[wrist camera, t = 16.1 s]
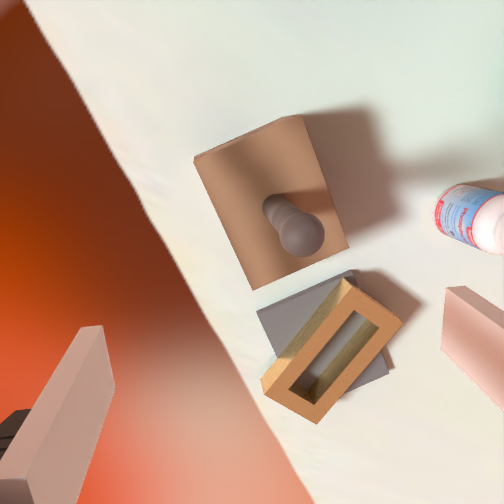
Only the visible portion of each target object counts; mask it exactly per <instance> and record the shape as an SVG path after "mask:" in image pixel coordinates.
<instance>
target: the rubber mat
mask: <svg viewBox="0 0 504 504" xmlns="http://www.w3.org/2000/svg"><path fill="white" fill-rule="evenodd" d="M343 277H344V278H345V279H346V280H348V281H349V282H351V283H352V284H353V285H355V286H356V287H357V284H356V281H355V279H354V276H353V273H352V272H351V271H350V270H348V271H346V272H344V273H342V274H339V275H337V276H335V277H333V278H330V279H328V280H326V281H324V282H321V283H319V284H317V285H315V286H312V287H310V288H308V289H306V290H303V291H301V292H299V293H297V294H294V295H292V296H290V297H288V298H285V299H283V300H281V301H279V302H276V303H274V304H272V305H270V306H267V307H265V308H263V309H261V310H258V311H256V312H257V315H258V317H259V319H260V321H261V324H262V326H263V328H264V330H265V332H266V334H267V336H268V339H269V341H270V343H271V345H272V347H273V349H274V351H275V353H276V356H277V358H278V357H279V356H280V354H281V353H282V352H283V351H284V349H285V348H286V347H287V346H288V345H289V343H290V342H291V341H292V340H293V338H294V337H295V336H296V335H297V333H298V332H299V331H300V330H301V328H302V327H303V326H304V325H305V323H306V322H307V321H308V320H309V318H310V317H311V316H312V315H313V314H314V312H315V311H316V310H317V309H318V307H319V306H320V305H321V304H322V302H323V301H324V300H325V299H326V297H327V296H328V295H329V294H330V292H331V291H332V290H333V289H334V287H335V286H336V285H337V284H338V283H339V281H340V280H341V279H342V278H343ZM366 320H367V319H366V318H365V317H363V316H362V315H360V314H359V313H358V312H356V311H355V310H354V311H353V312H352V313H351V314H350V315H349V317H348V318H347V319H346V320H345V321H344V323H343V324H342V325H341V326H340V327H339V329H338V330H337V331H336V332H335V334H334V335H333V336H332V337H331V338H330V340H329V341H328V342H327V343H326V344H325V346H324V347H323V348H322V349H321V350H320V352H319V353H318V354H317V355H316V357H315V358H314V359H313V360H312V361H311V363H310V364H309V365H308V366H307V367H306V369H305V370H304V371H303V372H302V373H301V375H300V376H299V377H298V378H297V380H296V381H295V382H296V383H298V384H299V385H301V386H303V387H304V388H306V389H309V388H310V387H311V385H312V384H313V383H314V382H315V381H316V379H317V378H318V377H319V376H320V375H321V373H322V372H323V371H324V370H325V369H326V367H327V366H328V365H329V364H330V363H331V361H332V360H333V359H334V358H335V357H336V356H337V354H338V353H339V352H340V351H341V350H342V348H343V347H344V346H345V345H346V344H347V342H348V341H349V340H350V339H351V338H352V336H353V335H354V334H355V333H356V332H357V330H358V329H359V328H360V327H361V326H362V324H363V323H364V322H365V321H366ZM387 374H389V371H388V369H387V366H386V363H385V360H384V358H383V355H382V352H381V350H380V351H379V352H378V354H377V355H376V356H375V357H374V358H373V359H372V361H371V362H370V363H369V364H368V365H367V366H366V368H365V369H364V370H363V371H362V372H361V373H360V375H359V376H358V377H357V378H356V379H355V380H354V382H353V383H352V384H351V385H350V386H349V387H348V389H347V390H346V391H345V392H344V393H347V392H349V391H351V390H353V389H356V388H358V387H360V386H362V385H365V384H367V383H369V382H371V381H374V380H376V379H378V378H380V377H383V376H385V375H387ZM344 393H343V394H344Z"/></svg>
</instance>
